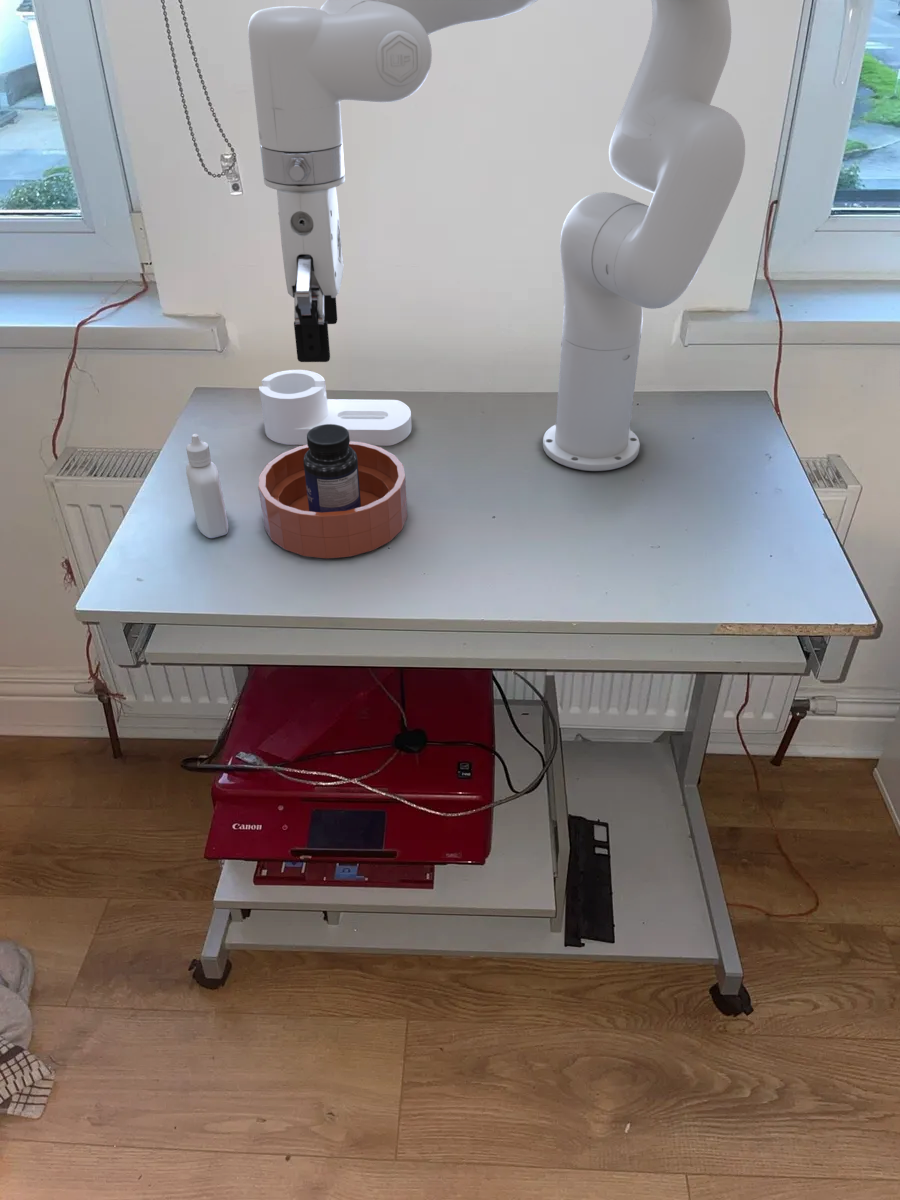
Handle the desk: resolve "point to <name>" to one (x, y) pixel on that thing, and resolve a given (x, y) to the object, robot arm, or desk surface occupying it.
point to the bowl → (341, 528)
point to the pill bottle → (331, 470)
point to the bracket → (327, 411)
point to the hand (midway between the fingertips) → (318, 341)
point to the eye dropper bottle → (206, 490)
